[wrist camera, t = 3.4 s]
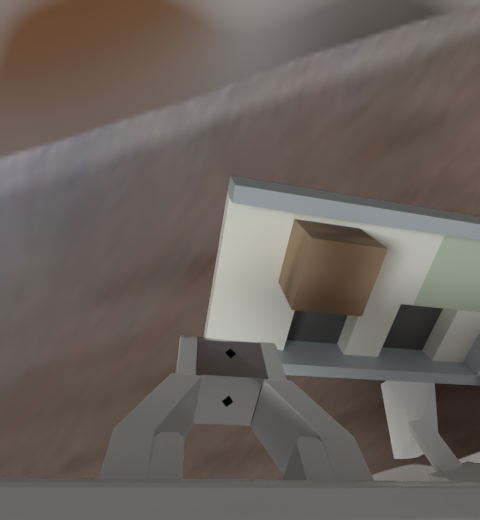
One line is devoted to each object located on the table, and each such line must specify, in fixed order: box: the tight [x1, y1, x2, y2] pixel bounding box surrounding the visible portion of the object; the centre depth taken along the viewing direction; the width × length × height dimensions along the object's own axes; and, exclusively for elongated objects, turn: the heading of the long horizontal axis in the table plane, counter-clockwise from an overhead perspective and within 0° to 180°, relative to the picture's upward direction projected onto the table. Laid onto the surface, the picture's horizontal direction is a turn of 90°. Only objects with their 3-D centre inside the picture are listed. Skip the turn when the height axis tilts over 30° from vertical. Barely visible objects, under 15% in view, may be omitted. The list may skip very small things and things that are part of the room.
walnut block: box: [278, 219, 388, 317], centre depth 20 cm, size 4×4×4 cm
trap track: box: [204, 176, 480, 386], centre depth 23 cm, size 23×13×3 cm, turn 80°
